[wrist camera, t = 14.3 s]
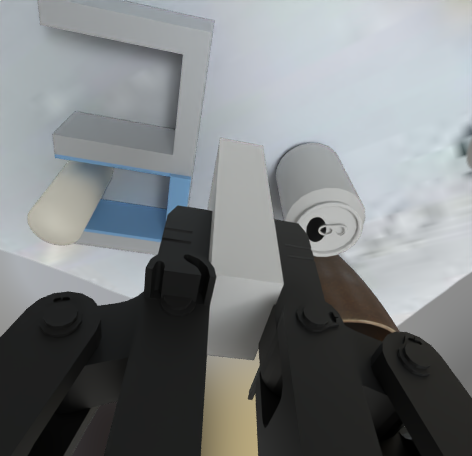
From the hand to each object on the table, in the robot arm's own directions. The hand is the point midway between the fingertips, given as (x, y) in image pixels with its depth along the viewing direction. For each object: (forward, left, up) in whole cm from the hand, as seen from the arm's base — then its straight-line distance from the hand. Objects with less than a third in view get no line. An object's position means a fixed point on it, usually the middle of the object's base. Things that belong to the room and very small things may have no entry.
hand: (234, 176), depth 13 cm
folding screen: (+11, -8, -26) cm, 30 cm away
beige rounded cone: (+17, -14, -26) cm, 34 cm away
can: (+12, +11, -27) cm, 31 cm away
